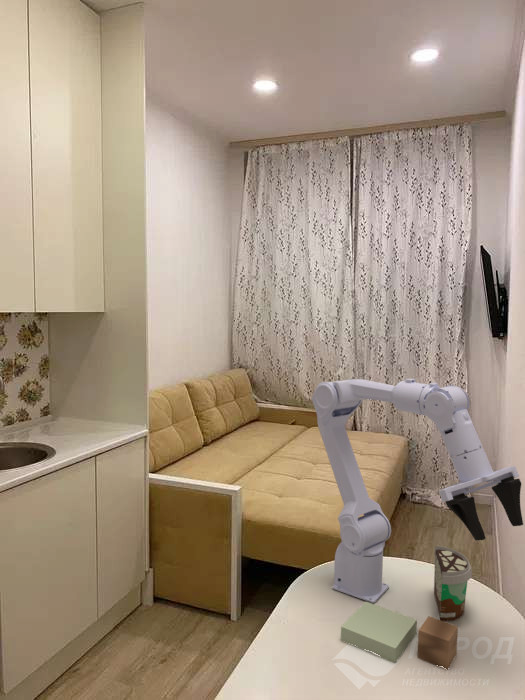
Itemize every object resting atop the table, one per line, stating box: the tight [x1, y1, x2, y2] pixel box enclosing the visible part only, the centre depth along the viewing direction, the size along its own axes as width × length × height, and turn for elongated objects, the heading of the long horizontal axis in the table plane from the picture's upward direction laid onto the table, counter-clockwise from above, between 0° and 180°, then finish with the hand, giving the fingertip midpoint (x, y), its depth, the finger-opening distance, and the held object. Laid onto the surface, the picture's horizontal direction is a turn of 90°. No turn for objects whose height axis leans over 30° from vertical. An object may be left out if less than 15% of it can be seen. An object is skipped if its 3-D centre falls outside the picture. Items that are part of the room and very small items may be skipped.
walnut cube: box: [417, 615, 459, 671], centre depth 89 cm, size 5×5×5 cm
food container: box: [433, 545, 473, 622], centre depth 103 cm, size 12×6×10 cm, turn 168°
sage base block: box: [340, 601, 418, 664], centre depth 94 cm, size 10×10×3 cm
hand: (499, 532), depth 88 cm, fingers open, 7 cm apart
